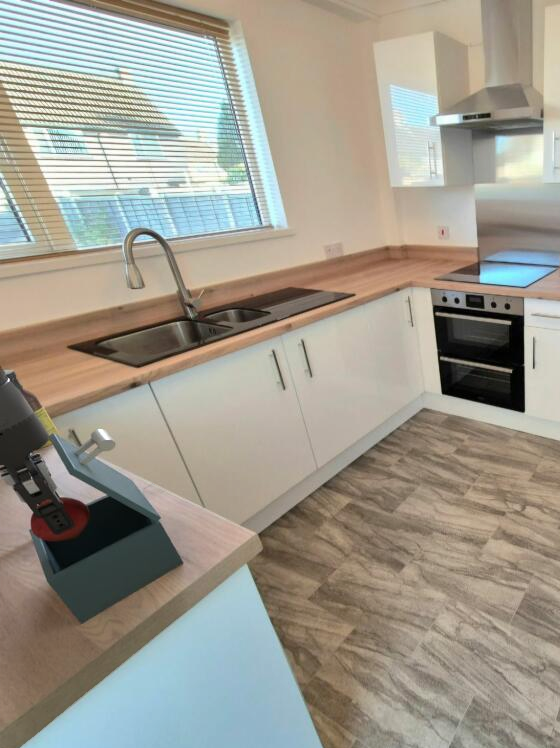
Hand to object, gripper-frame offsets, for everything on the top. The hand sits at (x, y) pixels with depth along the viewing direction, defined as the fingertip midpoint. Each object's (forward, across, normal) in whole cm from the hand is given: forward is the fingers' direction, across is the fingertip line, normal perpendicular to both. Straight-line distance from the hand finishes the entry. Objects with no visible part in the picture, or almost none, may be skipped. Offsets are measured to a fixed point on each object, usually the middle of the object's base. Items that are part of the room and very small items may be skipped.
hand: (60, 520), depth 61 cm
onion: (+4, 0, 0) cm, 4 cm away
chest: (+12, 0, +2) cm, 12 cm away
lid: (-3, 0, +6) cm, 7 cm away
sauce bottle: (+12, -60, +2) cm, 61 cm away
